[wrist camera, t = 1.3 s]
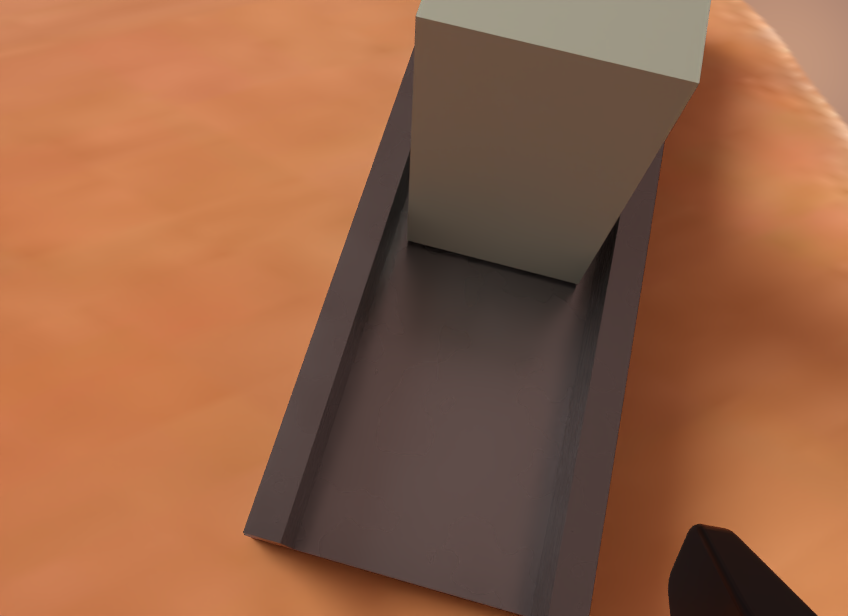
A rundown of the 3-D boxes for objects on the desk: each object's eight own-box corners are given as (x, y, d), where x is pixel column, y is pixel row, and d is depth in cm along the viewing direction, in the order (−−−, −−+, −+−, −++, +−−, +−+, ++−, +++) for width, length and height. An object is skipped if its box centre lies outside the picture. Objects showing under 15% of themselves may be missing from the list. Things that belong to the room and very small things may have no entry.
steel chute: (572, 630, 20) (606, 637, 17) (250, 536, 21) (224, 527, 18) (672, 29, 29) (707, -40, 26) (445, -24, 30) (451, -98, 27)
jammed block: (578, 284, 23) (699, 82, 14) (407, 240, 24) (415, 16, 14) (602, 164, 25) (722, -84, 16) (443, 124, 26) (471, -139, 16)
